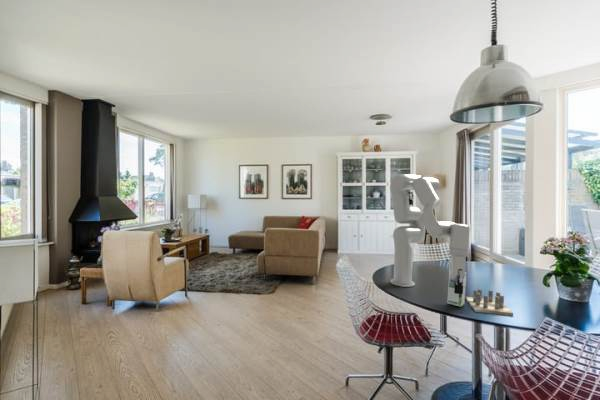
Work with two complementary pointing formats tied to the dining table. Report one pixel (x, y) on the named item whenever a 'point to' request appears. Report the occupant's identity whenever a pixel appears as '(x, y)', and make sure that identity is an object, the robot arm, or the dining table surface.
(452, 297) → the syrup box
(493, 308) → the pin tray
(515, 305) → the dining table surface
